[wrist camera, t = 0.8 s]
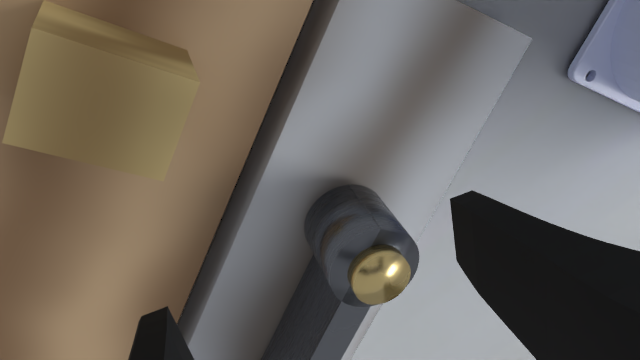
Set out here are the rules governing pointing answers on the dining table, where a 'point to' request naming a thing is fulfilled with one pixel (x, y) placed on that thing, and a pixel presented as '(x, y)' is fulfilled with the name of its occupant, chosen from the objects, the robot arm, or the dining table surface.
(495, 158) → the dining table surface
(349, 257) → the lock bar
